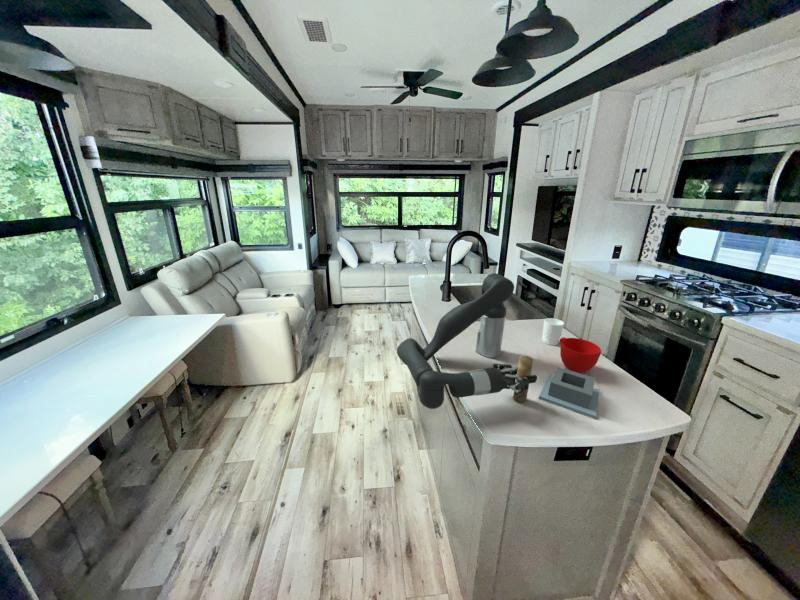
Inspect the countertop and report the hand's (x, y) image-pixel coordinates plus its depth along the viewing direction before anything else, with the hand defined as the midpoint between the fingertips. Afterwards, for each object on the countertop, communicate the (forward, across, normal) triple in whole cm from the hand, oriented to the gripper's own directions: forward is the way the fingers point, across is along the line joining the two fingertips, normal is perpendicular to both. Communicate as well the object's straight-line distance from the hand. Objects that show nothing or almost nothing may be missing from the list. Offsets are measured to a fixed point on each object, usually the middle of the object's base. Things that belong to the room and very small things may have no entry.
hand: (531, 374), depth 97 cm
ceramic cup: (+30, -13, -9) cm, 34 cm away
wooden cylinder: (-3, 0, -9) cm, 9 cm away
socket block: (+15, +2, -9) cm, 17 cm away
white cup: (+36, -32, -9) cm, 49 cm away
